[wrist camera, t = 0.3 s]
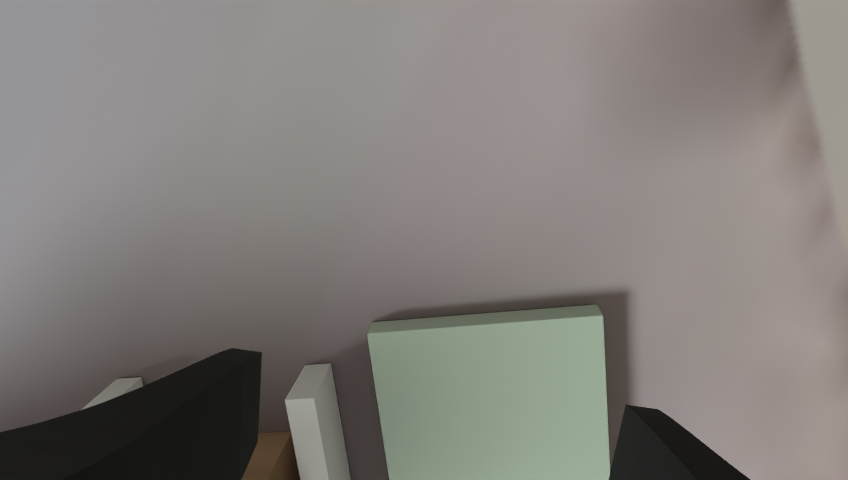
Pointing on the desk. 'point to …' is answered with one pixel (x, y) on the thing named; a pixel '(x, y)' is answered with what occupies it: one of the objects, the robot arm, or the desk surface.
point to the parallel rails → (294, 421)
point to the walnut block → (273, 458)
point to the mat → (493, 395)
